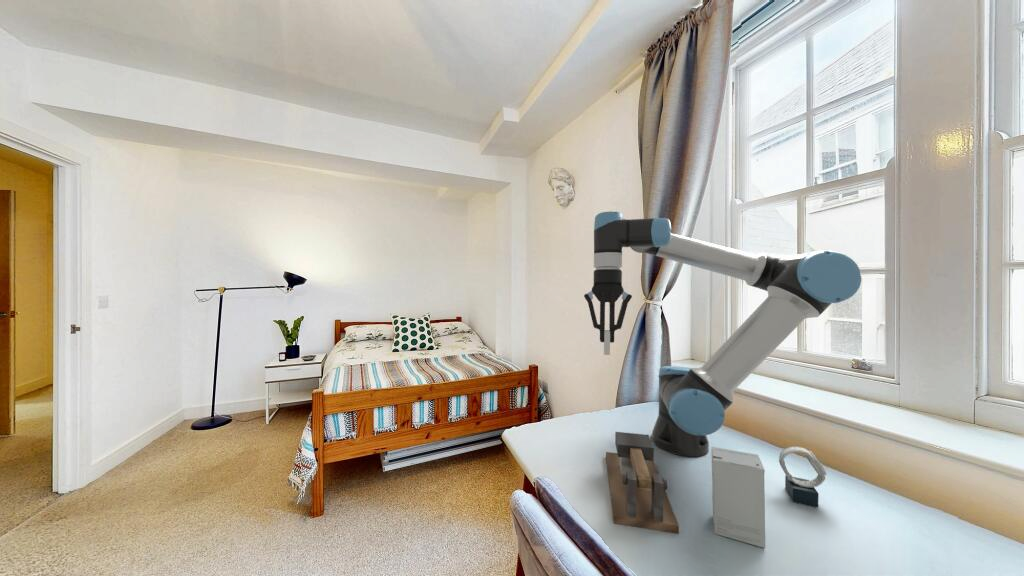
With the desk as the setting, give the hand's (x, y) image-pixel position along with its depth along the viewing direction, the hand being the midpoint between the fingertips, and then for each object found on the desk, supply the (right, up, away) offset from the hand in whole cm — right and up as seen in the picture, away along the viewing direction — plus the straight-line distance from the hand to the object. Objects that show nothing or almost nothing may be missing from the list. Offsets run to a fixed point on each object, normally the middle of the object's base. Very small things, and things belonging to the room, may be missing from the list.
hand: (606, 353), depth 92 cm
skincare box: (+17, -29, -28) cm, 44 cm away
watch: (+39, -29, -18) cm, 52 cm away
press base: (+3, -29, -15) cm, 32 cm away
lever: (+2, -22, -17) cm, 28 cm away
